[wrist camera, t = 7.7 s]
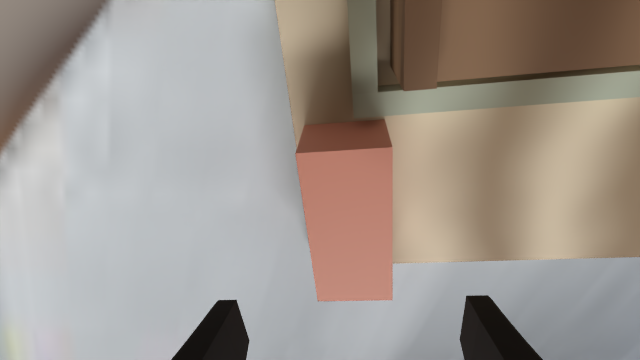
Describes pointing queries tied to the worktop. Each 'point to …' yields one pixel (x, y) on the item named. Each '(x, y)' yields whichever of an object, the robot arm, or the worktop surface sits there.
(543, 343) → the worktop surface
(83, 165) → the worktop surface
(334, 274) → the pink rectangular block
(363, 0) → the jig
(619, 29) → the brown u-shaped block
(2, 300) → the worktop surface
